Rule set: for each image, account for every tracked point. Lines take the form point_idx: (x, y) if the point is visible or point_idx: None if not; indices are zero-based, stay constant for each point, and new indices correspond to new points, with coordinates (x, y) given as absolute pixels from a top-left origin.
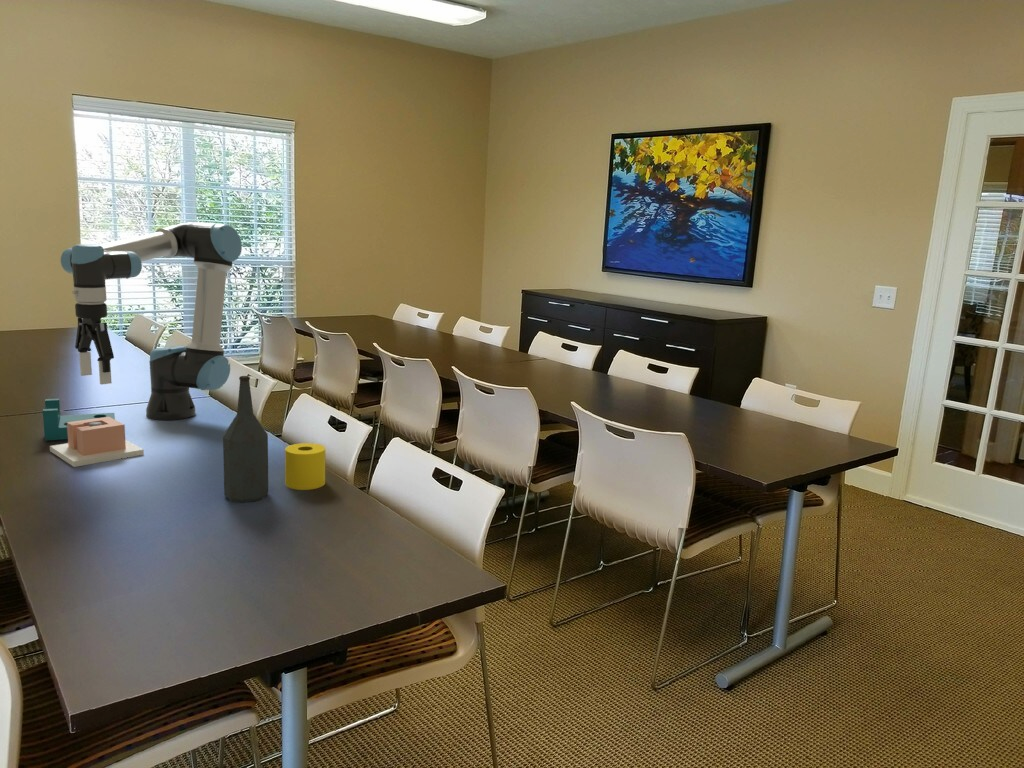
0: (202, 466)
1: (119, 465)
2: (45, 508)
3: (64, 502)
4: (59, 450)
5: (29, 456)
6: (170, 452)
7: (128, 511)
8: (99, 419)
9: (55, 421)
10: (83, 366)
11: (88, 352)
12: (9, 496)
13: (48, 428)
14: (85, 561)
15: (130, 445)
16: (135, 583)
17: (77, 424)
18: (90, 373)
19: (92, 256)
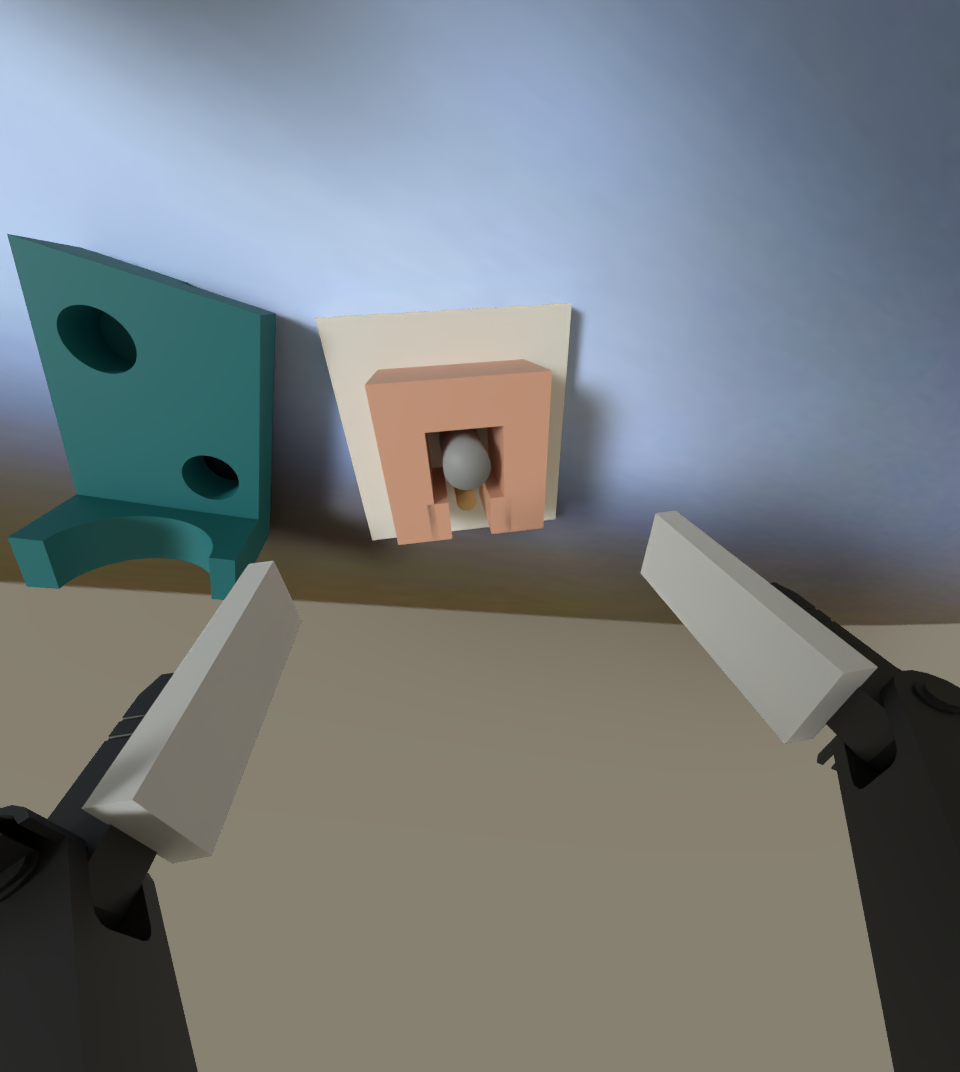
0: (842, 159)
1: (615, 415)
2: None
3: None
4: None
5: (401, 574)
6: (604, 184)
7: (878, 490)
8: (404, 437)
9: (250, 540)
10: (270, 672)
11: (149, 809)
12: (639, 620)
13: (258, 545)
14: (940, 577)
15: (492, 326)
16: None
17: (448, 522)
18: (275, 578)
19: None
